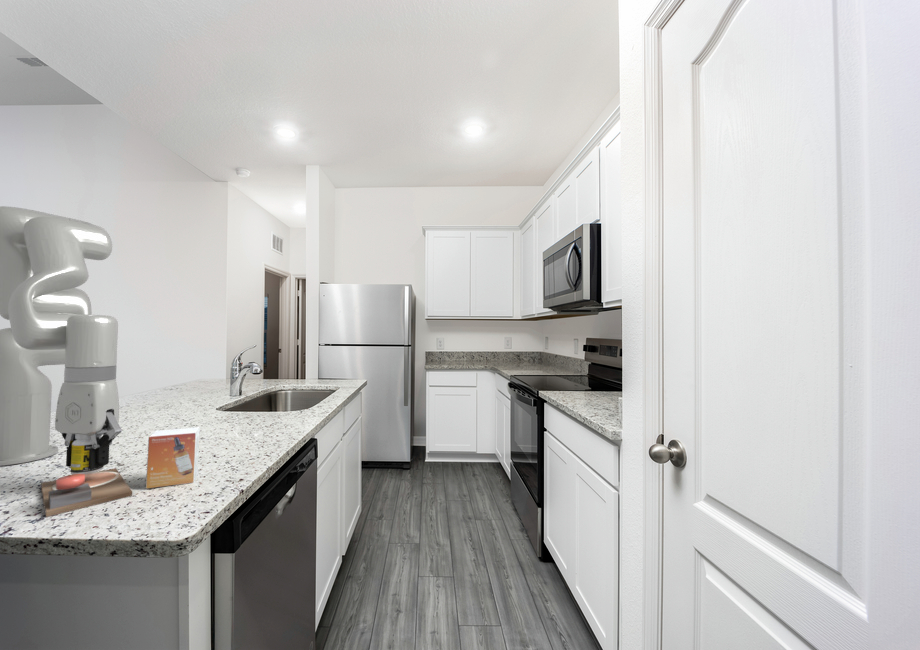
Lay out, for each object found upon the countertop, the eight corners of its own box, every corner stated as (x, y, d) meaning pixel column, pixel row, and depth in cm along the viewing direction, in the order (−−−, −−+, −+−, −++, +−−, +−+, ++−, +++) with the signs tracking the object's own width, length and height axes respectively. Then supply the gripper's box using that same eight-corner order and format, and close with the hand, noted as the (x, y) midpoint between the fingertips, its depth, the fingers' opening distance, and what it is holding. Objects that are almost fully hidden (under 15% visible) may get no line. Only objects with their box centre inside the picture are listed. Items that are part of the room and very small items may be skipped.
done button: (55, 485, 67) (55, 477, 67) (83, 479, 70) (83, 472, 70) (56, 491, 65) (56, 483, 65) (85, 485, 67) (86, 477, 67)
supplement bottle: (82, 477, 72) (84, 433, 73) (63, 474, 73) (65, 432, 74) (110, 468, 77) (111, 427, 77) (92, 466, 78) (93, 426, 78)
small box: (145, 490, 74) (147, 436, 74) (152, 479, 79) (154, 429, 79) (194, 483, 77) (195, 432, 78) (198, 473, 82) (200, 426, 83)
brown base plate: (41, 487, 74) (41, 474, 74) (115, 471, 82) (116, 460, 83) (46, 516, 62) (46, 502, 63) (132, 495, 71) (132, 483, 71)
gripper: (34, 375, 73) (30, 468, 73) (104, 379, 70) (101, 476, 70) (79, 372, 81) (75, 456, 80) (144, 374, 78) (141, 462, 77)
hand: (87, 464), depth 75 cm, fingers closed on supplement bottle, 4 cm apart
